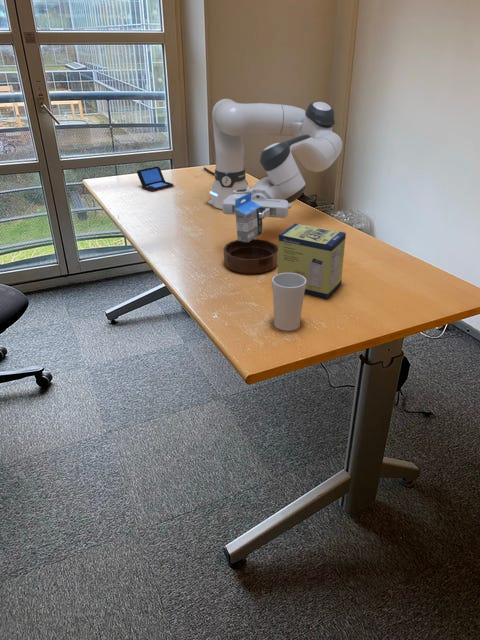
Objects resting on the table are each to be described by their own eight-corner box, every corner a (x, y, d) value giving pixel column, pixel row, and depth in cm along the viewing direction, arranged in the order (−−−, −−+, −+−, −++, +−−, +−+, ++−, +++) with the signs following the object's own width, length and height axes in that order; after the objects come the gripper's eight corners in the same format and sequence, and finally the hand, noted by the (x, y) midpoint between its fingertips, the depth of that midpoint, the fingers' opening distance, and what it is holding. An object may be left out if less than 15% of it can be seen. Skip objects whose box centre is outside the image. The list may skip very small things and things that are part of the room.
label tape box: (248, 243, 146) (246, 201, 140) (236, 240, 148) (234, 199, 142) (263, 233, 153) (262, 193, 147) (251, 231, 155) (250, 191, 149)
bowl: (231, 251, 163) (231, 236, 161) (281, 255, 160) (282, 240, 157) (218, 272, 149) (217, 257, 147) (272, 277, 146) (273, 262, 144)
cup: (268, 316, 127) (270, 273, 121) (299, 315, 128) (302, 271, 122) (273, 333, 120) (274, 288, 114) (306, 331, 121) (309, 286, 115)
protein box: (291, 272, 149) (294, 222, 141) (341, 284, 142) (347, 232, 134) (275, 286, 141) (277, 234, 133) (327, 299, 135) (333, 245, 127)
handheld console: (151, 192, 220) (150, 175, 216) (137, 187, 227) (135, 170, 223) (174, 186, 228) (173, 169, 224) (160, 181, 234) (158, 165, 231)
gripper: (292, 213, 159) (285, 228, 147) (229, 209, 163) (218, 223, 151) (293, 193, 156) (286, 207, 144) (228, 189, 160) (217, 203, 148)
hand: (250, 215), depth 148 cm, fingers closed on label tape box, 4 cm apart
